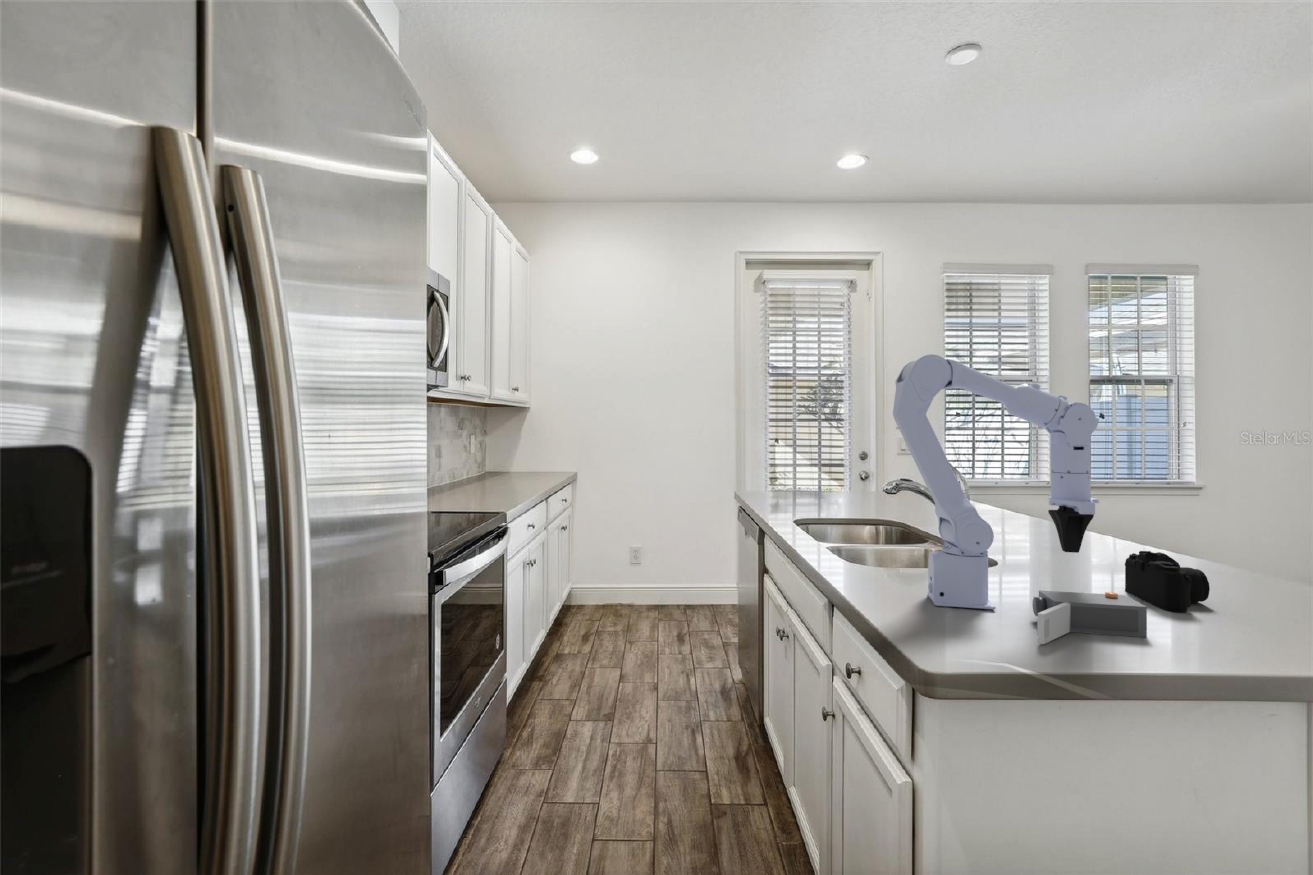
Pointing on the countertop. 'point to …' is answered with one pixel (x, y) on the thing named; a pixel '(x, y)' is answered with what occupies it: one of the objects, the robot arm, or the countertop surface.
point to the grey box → (1098, 612)
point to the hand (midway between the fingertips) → (1070, 551)
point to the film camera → (1164, 581)
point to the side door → (1053, 622)
